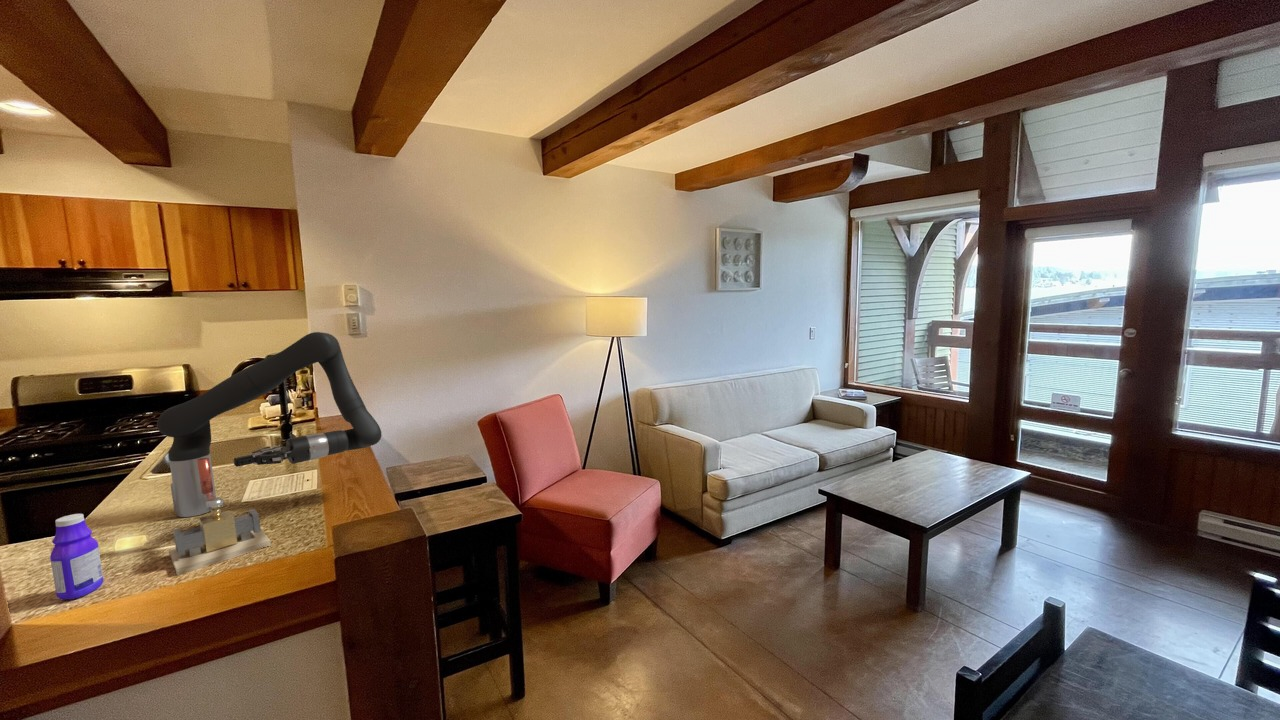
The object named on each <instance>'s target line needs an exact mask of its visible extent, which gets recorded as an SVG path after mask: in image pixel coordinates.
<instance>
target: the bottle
mask: <svg viewBox="0 0 1280 720" xmlns="http://www.w3.org/2000/svg"><path fill="white" fill-rule="evenodd" d="M84 516H85V515H84V513H73V514H69V515H64V516H61V517H59V518H57V519H55V522H54V523H55V535H54V537H53V539H52V543H53V545H54V546H53V547H52V551H51V552H50V556H49V557H50V558H49V559H50V560H49V561H50V565H51V570H52V578H53V582H54V588H55V595H56V597H57V598H58V599H59V600H61V599H69V600H74V599H73V598H76V599H79V598H81V597H80V596H82V597H84V596H86V595H88V594H90V593H92V592H93V591H96V590H98V589H99V588H100V587H101V586H102V585H103V583H104V576H103V575H104V573H103V567H102V561H101V555H100V550H99V549H100V548H99V543H98V541H97V540H96V538H94V537H93V536H92V534H93V530H92V529H90V528H89V527H88V526H87V524H86V519H85V517H84ZM78 597H79V598H78Z"/></svg>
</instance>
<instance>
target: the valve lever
mask: <svg viewBox="0 0 1280 720" xmlns="http://www.w3.org/2000/svg"><path fill="white" fill-rule="evenodd" d="M197 463H198V470H199V478H200V485H201V492H202V494H204V497H205V498H206V500H207V501H206V506H207V509H208V510H212V509H217V508H220V509H221V508H222V507H224V500H223V497H217V495H216V496H215V495H214V494H213V491H214V490H213V483H212V475H211V468H210V461H209V458H202V459H198V460H197Z"/></svg>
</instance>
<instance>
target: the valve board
mask: <svg viewBox="0 0 1280 720" xmlns="http://www.w3.org/2000/svg"><path fill="white" fill-rule="evenodd" d="M260 530H261V532H259V533H254V531H251V539H249V540H246V541H241V540H240V538H239V537H238V535H236V536H237V543H236V544H233V545H229V546H226V547H223V548H219V549H216V550H213V551H209V552H206V550H205V548H204V546H203V545H202V546H200V550H201V554H199V555H196V556H193V557H190V555H189V553H188V550H185V554H184V555H181V556H179V555H178V553H177V551H176V547H175V548H173V549H169V550H168V552H169V558H170V560H171V562H172V565H173V568H174V571H175V574H176V576H179V575H184V574H186V573H190V572H193V571H197V570H199V569H203V568H205V567H208V566H212V565H215V564H218V563H221V562H224V561H227V560H230V559H234V558H237V557H241V556H244V555H247V554H250V553H253V552H256V551H258V550H257V549H259V550H261V549H260V548H262V549H264V548H263V547H266V548H268V547H267V546H269V547H271V546H272V543H271V539H270V538H269V537H268V536H267V534H266V533H265V532H264V531H263V529H261V528H260ZM255 550H256V551H255ZM252 551H253V552H252ZM249 552H250V553H249ZM246 553H247V554H246Z"/></svg>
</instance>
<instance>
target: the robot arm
mask: <svg viewBox="0 0 1280 720" xmlns="http://www.w3.org/2000/svg"><path fill="white" fill-rule="evenodd" d="M345 361H346V360H345V359H344V356H343V352H342V348H341V345H340V342H339V341H338V339H337V338H336V337H335V336H334V335H333V334H330V333H328V332H321V331H313V332H311V333H308V334H305V335H304V336H302V337H301V338H299V339H298V340H296V341H295V342H294V343H292V344H290V345H289V346H288V347H286V348H284V349H282V350H281V351H279V352H278V353H276V354H273V355H271V356H269V357H266V358H264V359H262V360H260V361H258V362H256V363H253V364H251V365H249V366H247V367H246V368H244V369H242V370H240V371H238V372H236V373H235V374H233V375H231V376H230V377H227V378H225V379H224V380H223V381H221V382H219V383H218V384H216V385H214V386H213V387H211V388H209V390H207V391H205V392H203V393H202V394H200V395H198V396H197V397H194V398H192V399H190V400H188V401H185V402H183V403H180V404H176V405H173V406H171V407H169V408H167V409H166V410H164V411H163V412H162V413H161V414H160V416H159V417H158V418H157V421H156V427H157V430H158V432H159V433H161V434H162V435H163V436H166V437H169V438H173V442H172V443H171V444H172V445H171V447H170V448H169V449H168V452H167V453H168V454H167V456H168V461H169V469H170V475H171V481H172V482H171V484H170V490H171V491H170V492H171V497H172V505H173V510H174V511H173V512H174V515H176V516H177V517H178V518H179V517H180V518H188V517H189V518H190V517H195V516H200V515H201V516H202V515H204V514H207V513H209V512H211V510H208V509H207V506H206V501H207V500H206V498H205V497H204V494H202V492H201V485H200V478H199V470H198V463H197V460H198V459H202V458H209V461H210V468H211V475H212V483H213V490H214V491H213V494H214V495H215V496H216V497H217V493H216V488H215V487H216V486H215V480H214V478H215V477H214V473H213V466H212V465H213V464H212V457H211V449H210V448H211V444H212V430H211V420H212V419H214V418H216V417H217V416H219V415H222V414H224V413H226V412H229V411H231V410H233V409H236V408H239V407H241V406H244V405H246V404H248V403H251V402H252V401H254V400H256V399H259V398H261V397H262V396H264V395H266V394H268V393H269V392H271V391H273V390H274V389H276V388H277V387H279V385H282V384H283V382H285V380H286V379H288V378H289V377H290V376H292V375H293V374H294V373H296V372H298V371H300V370H302V369H305V368H306V367H309V366H311V365H313V364H316V363H319V365H320V366H321V368H322V370H324V372H325V374H326V376H327V379H328V381H329V384H330V389H331V393H332V395H333V396H332V397H333V400H334V403H335V404H336V407H337V409H338V411H339V413H340V414H341V417H342V418H343V420H344V421H345V422H347V423H349V424H350V425H351V427H352V428H350V429H349V428H348V429H345V430H339V429H338V430H333V431H327V432H321V433H311V434H305V435H301V436H295V437H291V438H287V439H286V443H285V445H284V446H283V445H282V446H280V445H274V446H265V447H263V448H260V449H257V450H254V451H252V452H251V453H250V454H248V455H242V456H239V457H234V458H233V464H234V465H233V466H235V467H236V468H237V467H243V466H247V465H258V466H261V465H273V464H274V465H276V464H282V462H283V461H284V460H288V461H289V463H290V464H292V465H295V464H299V463H304V462H308V461H309V462H310V461H311V460H317V459H321V458H323V457H327V456H332V455H335V454H340V453H343V452H347V451H354V450H359V449H364V448H365V449H366V448H368V447H371V446H375V445H377V444H378V443H379V442H380V440H381V439H382V436H383V435H382V430H381V426H380V425H379V423H378V422H377V421H376V419H375V418H374V417H373V415H372V414H371V413H370V412H369V411H368V409H367V407H366V405H365V404H364V401H363V399H362V397H361V395H360V392H359V391H358V389H357V387H356V386H355V384H354V381H353V379H352V376H351V375H350V372H349V370H348V367H347V364H346V362H345Z"/></svg>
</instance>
